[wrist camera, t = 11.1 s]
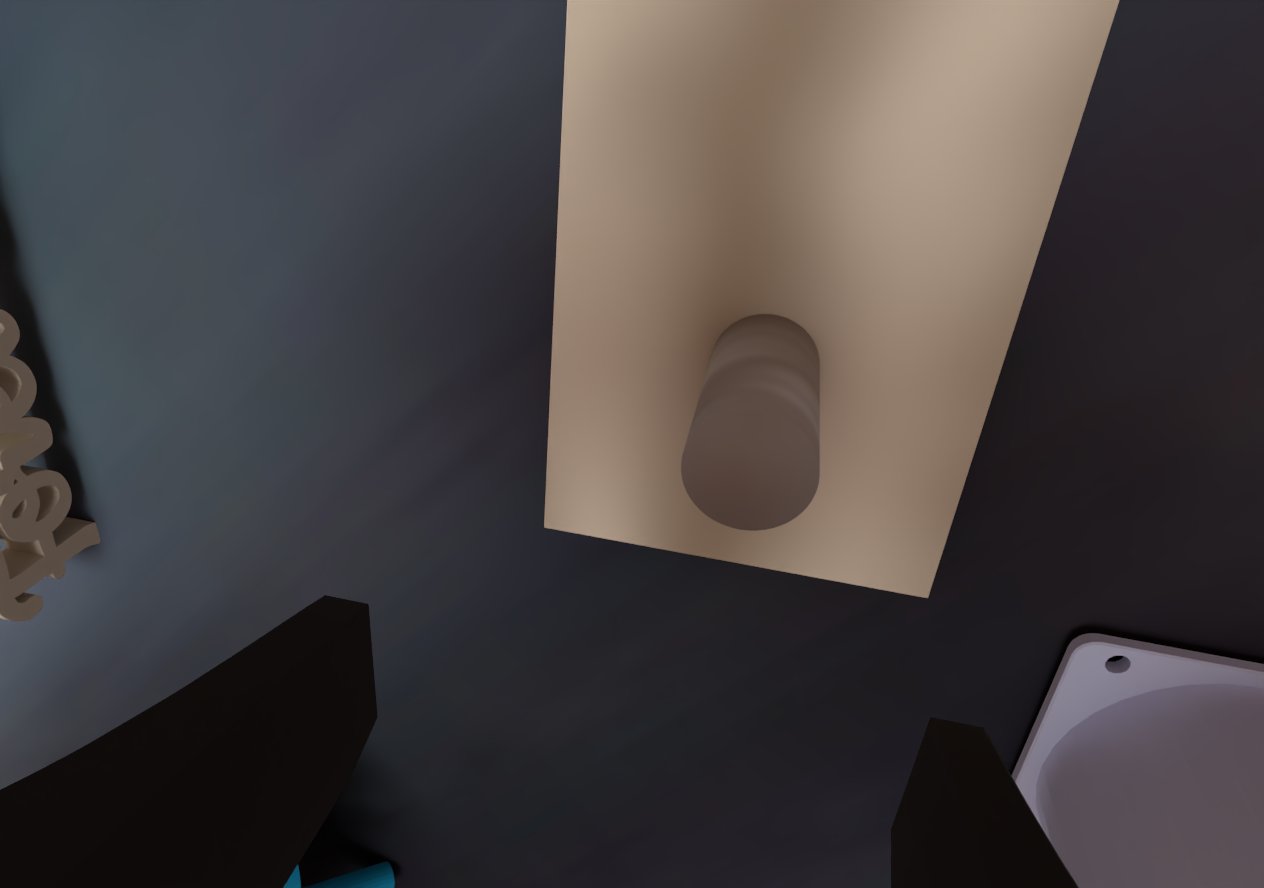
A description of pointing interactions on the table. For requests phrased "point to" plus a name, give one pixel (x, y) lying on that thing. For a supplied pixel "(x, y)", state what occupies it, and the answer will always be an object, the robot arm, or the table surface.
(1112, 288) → the table surface
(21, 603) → the decorative sign
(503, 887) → the table surface
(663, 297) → the board
